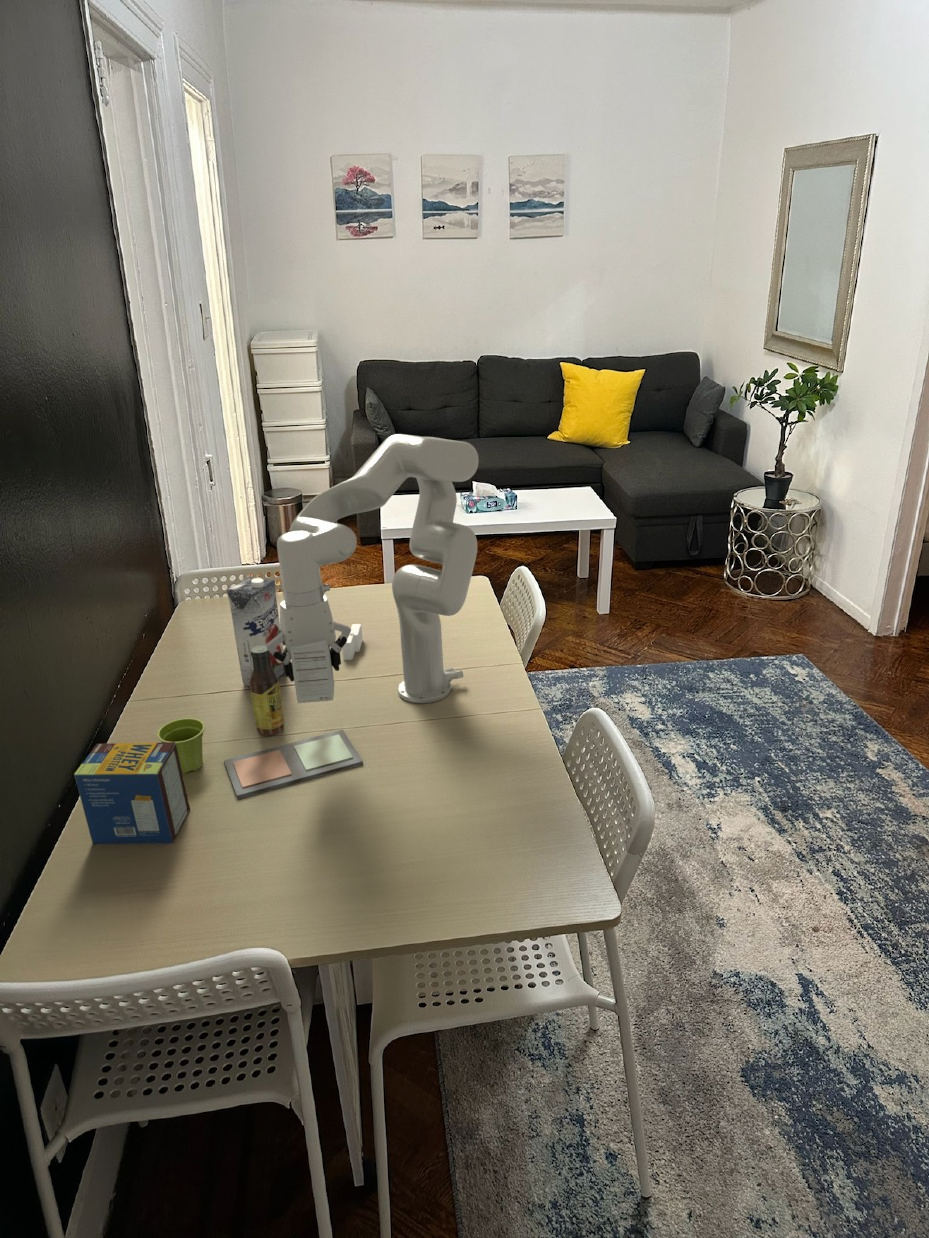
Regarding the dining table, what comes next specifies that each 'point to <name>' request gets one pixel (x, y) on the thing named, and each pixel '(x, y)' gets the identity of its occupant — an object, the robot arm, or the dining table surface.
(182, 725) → the plant pot
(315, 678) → the supplement box
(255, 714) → the sauce bottle
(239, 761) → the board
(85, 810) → the protein box
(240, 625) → the juice carton
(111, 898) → the dining table surface
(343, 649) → the napkin holder
